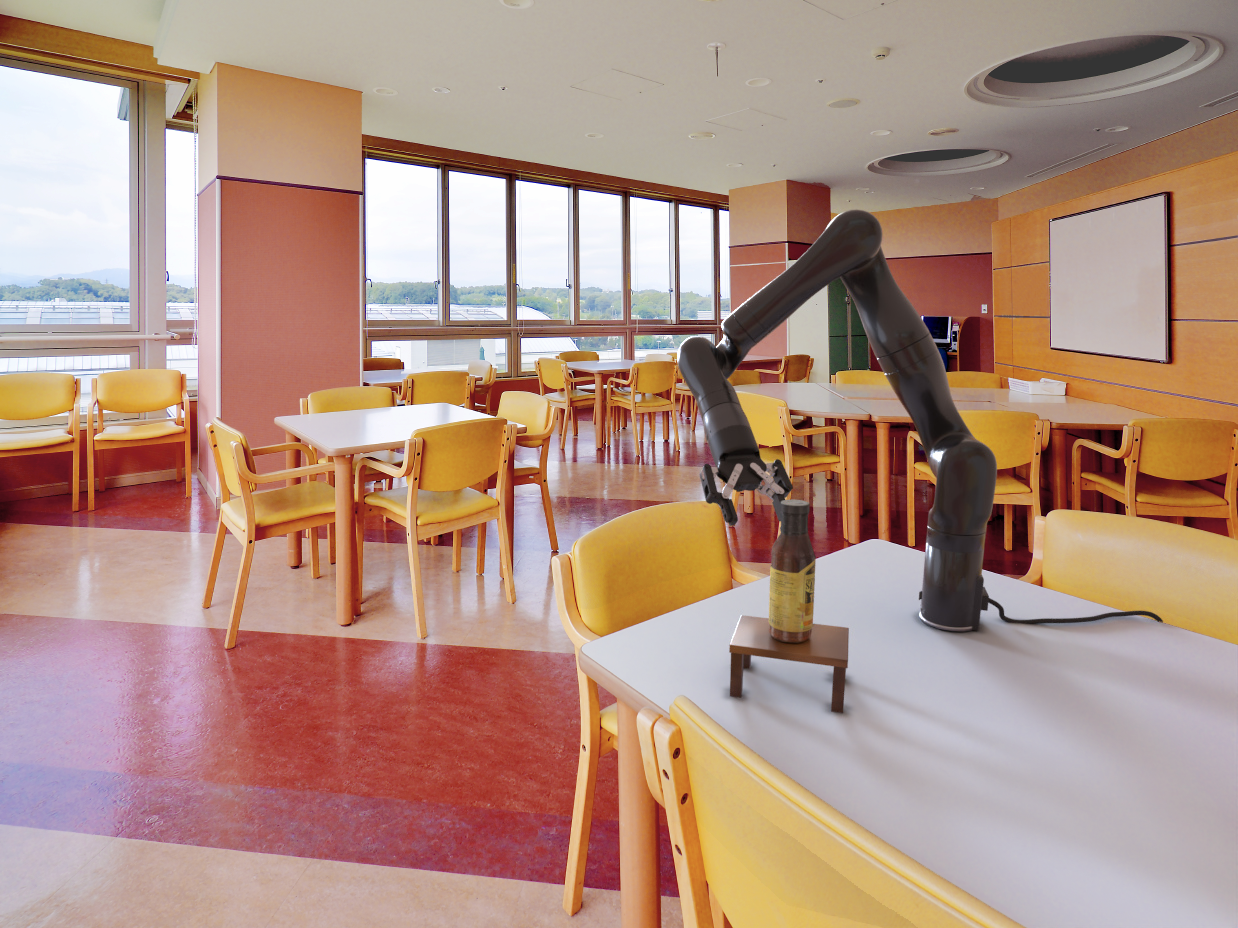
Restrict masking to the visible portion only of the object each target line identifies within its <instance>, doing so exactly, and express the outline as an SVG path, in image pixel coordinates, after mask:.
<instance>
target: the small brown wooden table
mask: <svg viewBox="0 0 1238 928" xmlns="http://www.w3.org/2000/svg"><path fill="white" fill-rule="evenodd" d="M769 626H770V624H769V617H761V616H752V615H744V614H741V615H740V617H739V619H738V622H737V625H736V628H735V629H734V633H733V635H732V637H731V640H730V643H729V648H728V649H729V650H728V651H729V652H728V653H730V670H729V671H730V672H729V673H730V674H729V697H734V698H741V697H742V696H743V689H744V688H743V687H744V685H743V684H744V669H745V670H750V669H751V665H752V656H753V657H761V658H768V659H775V660H782V661H783V660H784V661H791V662H798V663H804V664H805V663H806V664H814V665H821V666H828V667H833V670H832V671H833V673H832V689H831V690H832V692H831V704H830V705H831V706H830V712H832V713H839V714H844V708H845V707H844V706H845V691H846V690H845V689H846V677H847V676H846V675H847V669H848V667H849V640H850V639H849V636H850V628H849V627H845V626H839V625H828V624H821V623H820V624H819V623H813V627H812V632H811V636H810V638H809V639H808V640H806V641H803V642H799V643H790V642H782V641H779V640H777V639H775V638H774V637H772V636H771V635H770V633H769Z"/></svg>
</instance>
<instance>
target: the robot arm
mask: <svg viewBox="0 0 1238 928" xmlns="http://www.w3.org/2000/svg"><path fill="white" fill-rule="evenodd" d="M882 243H883V228H882V225H881V223H880V221H879V220H878V218H877V217H876V216H875V215H874V214H872V213H871V212H869V211H867V210H864V209H857V208H856V209H848V210H845V211H842V212H840V213H839V214H837V215H835V216H834V217H833V218H832V219H831V220H830V221H829V223H828V224H827V226H826V227H825V229H824V231H823V232H822V233H821V234H820V235H819V237H818V238H817V239H816V240H815V241H814V242H813V244H812V245H811V246H810V247H809V248H807V250H806V251H805V252H804V253H803V254H802V255H801V256H800V257H799V258H798V259H797V260H796V261H795V262H794V263H793V264H791V265H790V266H789V267H788V268H787V269H785V270H784V271H783V272H782V273H781V274H779V275H777V276H776V277H775V278H774V279H772V280H771V281H770V282H768V283H767V284H766V285H764V286H763V287H762V288H760V289H759V290H758V291H756V292H755V293H754V294H753V295H751V296H750V297H749V298H747V300H745V301H744V302H743V303H742V304H740V306H739V307H737V308H736V309H735V310H734V311H732V312H731V313H730V314H729V315H727V317H725V318H724V320H723V321H722V322H721V330H722V334H723V335H724V336H723V338H722V339H721V341H720V342H719V343H718V345H717V346H716V345H715V344H714V343H713V342H712V341H711V340H710V339H708V338H706V337H704V336H701V335H694V336H690V337H688V338H686V339H685V340H684V341H683V342H682V343H681V344H680V345H679V348H678V351H677V355H676V356H677V357H676V358H677V360H676V361H677V366H678V370H679V372H680V374H681V376H682V378H683V380H684V382H685V384H686V386H687V388H688V389H689V391H690V393H691V394H692V396H693V397H694V400H695V402H696V406H697V409H698V412H699V415H700V418H701V421H702V425H703V431H704V435H705V440H706V442H707V444H708V447H709V450H710V453H711V456H712V459H713V460H712V461H713V463H714V466H711V464H709V463H705V464H703V467H702V468H701V470H700V472H699V479H700V482H701V487H702V491H703V496H704V498H705V502H706V503H707V504H709V505H712V504H717V506H719V509H720V511H721V514H722V517H723V520H724V522H725V523H727V524H728V526H729V527H732V526H733V527H735V526H736V524H737V523H738V521H739V518H738V514H737V512H736V511H737V510H736V508H735V506H734V502H733V499H732V498H730V497H731V494H732V492H733V490H734V491H735V492H736V493H740V492H744V491H748V492H755V491H757V492H758V493H759V494H761V495H765V496H766V497H767V498H769V499H770V500H771V501H772V506H773V509H774V512H775V514H776V517H777V521H778V522H781V513H780V503H781V501H783V500H786V498H787V497H788V496H789V494H790V493H791V492H792V491H793V489H794V486H793V483H792V481H791V480H790V477H789V475H788V473H787V471H786V468H785V466H784V464H783V462H782V460H781V459H780V458H779V459H778V458H777V459H775V460H774V461H773V462H767V463H766V462H765V461H764V460H763V459H762V457H761V452H760V447H759V445H758V443H757V440H756V438H755V435H754V432H753V429H752V427H751V424H750V422H749V419H748V417H747V415H746V413H745V412H744V410H743V407H742V405H741V402H740V399H739V397H738V394H737V391H736V390H735V387H734V386H733V384H732V383H731V382H730V381H729V380H728V379H729V378H730V377H731V376H732V375H733V374H734V372H735V371H736V370H737V369H738V367H739V366H740V365H741V363H742V362H743V361H744V360H745V358H746V357H747V355H748V354H749V352H750V351H751V350H752V349H753V348H754V347H756V346H757V345H758V344H760V343H761V342H762V341H763V340H764V339H766V338H767V337H768V336H769V335H770V334H772V333H773V332H774V331H775V330H776V329H777V328H779V327H780V326H781V325H782V324H783V323H785V322H786V321H787V320H788V319H789V318H790V317H791V316H792V315H793V314H794V313H795V312H796V311H797V310H799V309H800V308H801V307H802V306H803V305H804V304H805V303H807V301H809V300H810V299H811V298H812V297H814V296H815V295H817V293H819V292H820V291H821V290H823V289H824V288H826V287H827V286H828V285H830V284H831V283H833V282H835V281H836V280H838V279H839V278H840V280H841V281H842V284H843V285H844V286H845V288H846V290H847V291H848V294H849V295H850V296H851V299H852V300H853V303H854V305H855V307H856V310H857V312H858V315H859V318H860V321H861V325H862V327H863V329H864V333H865V335H866V337H867V340H868V342H869V344H870V347H871V349H872V351H873V354H874V356H875V358H876V360H877V362H878V364H879V366H880V369H881V370H882V372H883V374H884V376H885V378H886V380H887V382H888V383H889V385H890V387H891V389H892V390H893V393H894V394H895V395H896V397H897V399H898V400H899V402H900V403H901V405H902V406H903V408H904V410H905V411H906V413H907V414H908V416H909V417H910V419H911V421H912V423H913V425H914V427H915V429H916V433H917V434H918V437H919V440H920V443H921V445H922V448H923V452H924V453H925V457H926V460H927V462H928V466H929V469H930V471H931V473H932V474H933V476H934V477H935V481H936V482H935V489H934V490H935V491H934V499H933V500H934V501H933V504H932V507H931V508H930V509H929V511H928V516H927V527H926V537H925V538H926V539H925V550H924V551H925V552H924V561H923V575H922V588H921V590H920V591H919V593H918V601H920V608H919V609H920V610H919V619H920V621H921V622H923V623H924V624H925V625H927V626H929V627H932V628H935V629H939V630H943V631H949V632H958V633H959V632H970V631H977V632H978V631H980V623H981V612H982V611H984V612H985V611H986V612H987V611H988V610H989V604H990V605H992V606H994V607H995V608H996V609H997V610H998V616H999V618H1000V619H1001V620H1002V621H1003V622H1006V623H1010V624H1025V625H1036V624H1037V625H1038V624H1075V623H1087V622H1088V623H1089V622H1096V621H1100V620H1104V619H1108V618H1116V617H1118V618H1119V617H1121V618H1122V617H1132V616H1133V617H1134V616H1146V617H1149V618H1152V619H1154V620H1155V621H1156V622H1159V623H1164V620H1163V618H1161V617H1160V616H1159V615H1158V614H1156V613H1154V612H1152V611H1148V610H1127V611H1113V612H1112V611H1111V612H1106V613H1101V614H1097V615H1094V616H1085V617H1065V618H1064V617H1063V618H1053V617H1051V618H1048V617H1047V618H1032V619H1014V618H1010V617H1008V616H1006V615H1005V609H1004V607H1003V606H1002V605H1001V604H1000V603H999V602H997V601H996V600H994V599H993V598H990V595H989V593H988V591H987V589H986V586H984V584H985V578H984V576H983V565H984V554H985V543H986V535H987V527H988V526H987V525H988V522H989V520H990V518H991V516H992V514H993V513H992V512H993V506H994V500H995V492H996V486H997V476H998V463H997V458H996V455H995V454H994V452H993V450H992V449H991V447H989V446H988V445H986V444H985V443H984V442H982V441H980V440H979V439H977V438H976V437H975V436H974V435H973V433H972V432H971V430H970V429H969V428H968V426H967V423H965V421H964V419H963V417H962V416H961V414H960V412H959V411H958V408H957V406H956V404H955V402H954V400H953V397H952V394H951V388H950V383H949V379H948V374H947V371H946V367H945V363H944V360H943V358H942V355H941V353H940V351H939V348H938V346H937V344H936V342H935V340H934V338H933V336H932V334H931V332H930V330H929V328H928V326H927V325H926V323H925V322H924V320H923V318H922V317H921V315H920V314H919V312H918V310H916V308H915V306H914V305H913V304H912V302H911V301H910V299H909V298H908V297H907V296H906V294H905V293H904V292H903V290H902V289H901V287H899V284H898V283H897V281H896V280H895V278H894V276H893V274H892V272H891V269H890V267H889V264H888V261H887V259H886V256H885V253H884V251H883V249H882ZM716 476H717V478H719V479H720V481H722V482H723V483H724V487H723V488H722V491H721V492H719V491H718V488H717V484H716V480H715V479H716ZM763 482H764V485H763V484H762V483H763Z"/></svg>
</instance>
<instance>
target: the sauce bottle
mask: <svg viewBox="0 0 1238 928" xmlns="http://www.w3.org/2000/svg"><path fill="white" fill-rule="evenodd" d="M810 505H811V504H810V502H809V501H806V500H802V499H785V500H783V501H781V503H780V513H781V521H780V527H779V531H780V533H779V535H778V537H777V538H776V540H775V541H774V542H773V544H772V547H771V559H770V560H771V562H770V563H771V564H770V567H769V593H768V595H769V596H768V597H769V599H768V600H769V601H768V618H769V624H770V626H769V633H770V635H771V636H772V637H774V638H775V639H777V640H779V641H782V642H790V643H799V642H803V641H806V640H808V639H809V638H810V636H811V632H812V627H813V624H814V607H815V606H814V605H815V586H816V585H815V584H816V553H815V551H814V548H813V545H812V542H811V539H810V536H809V527H808V526H809V524H808V523H809V514H810V511H811V509H810V508H811V507H810Z"/></svg>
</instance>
